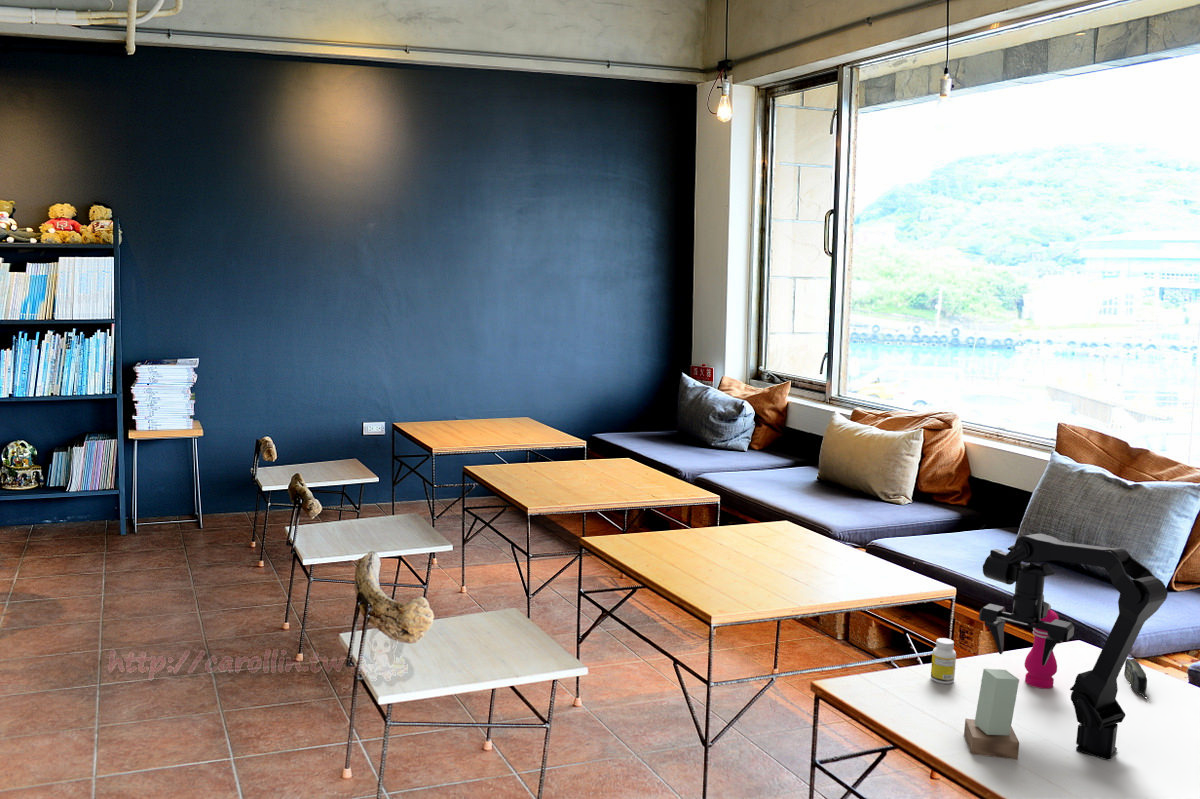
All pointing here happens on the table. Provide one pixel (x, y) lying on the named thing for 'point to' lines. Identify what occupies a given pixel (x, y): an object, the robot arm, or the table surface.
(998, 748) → the walnut block
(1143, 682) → the mobile phone
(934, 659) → the supplement bottle
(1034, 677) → the pepper mill
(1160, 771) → the table surface
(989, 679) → the tall block
